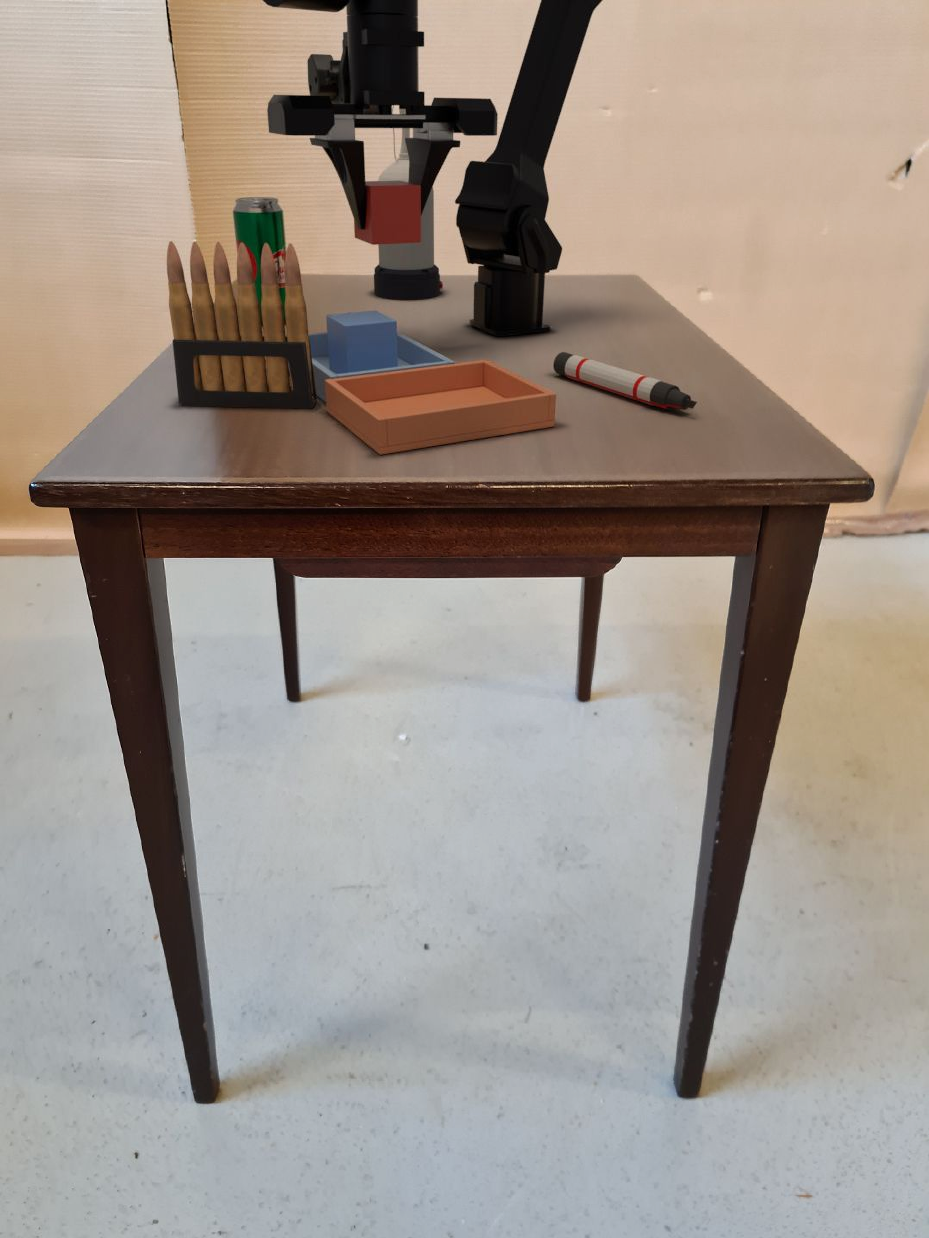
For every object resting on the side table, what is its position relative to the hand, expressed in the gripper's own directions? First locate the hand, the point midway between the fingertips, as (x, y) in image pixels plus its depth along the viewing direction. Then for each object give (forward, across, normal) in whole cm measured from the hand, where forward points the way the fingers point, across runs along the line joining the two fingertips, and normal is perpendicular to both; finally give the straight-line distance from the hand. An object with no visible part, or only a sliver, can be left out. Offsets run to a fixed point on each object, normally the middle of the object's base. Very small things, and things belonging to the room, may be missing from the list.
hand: (387, 228), depth 80 cm
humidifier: (+11, -13, -27) cm, 32 cm away
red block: (+1, 0, 0) cm, 1 cm away
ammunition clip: (+12, +16, +10) cm, 22 cm away
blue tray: (+11, +5, +6) cm, 14 cm away
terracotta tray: (+11, +4, +19) cm, 23 cm away
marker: (+11, -13, +20) cm, 26 cm away
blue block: (+11, +5, +6) cm, 14 cm away
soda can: (+11, +7, -18) cm, 23 cm away
